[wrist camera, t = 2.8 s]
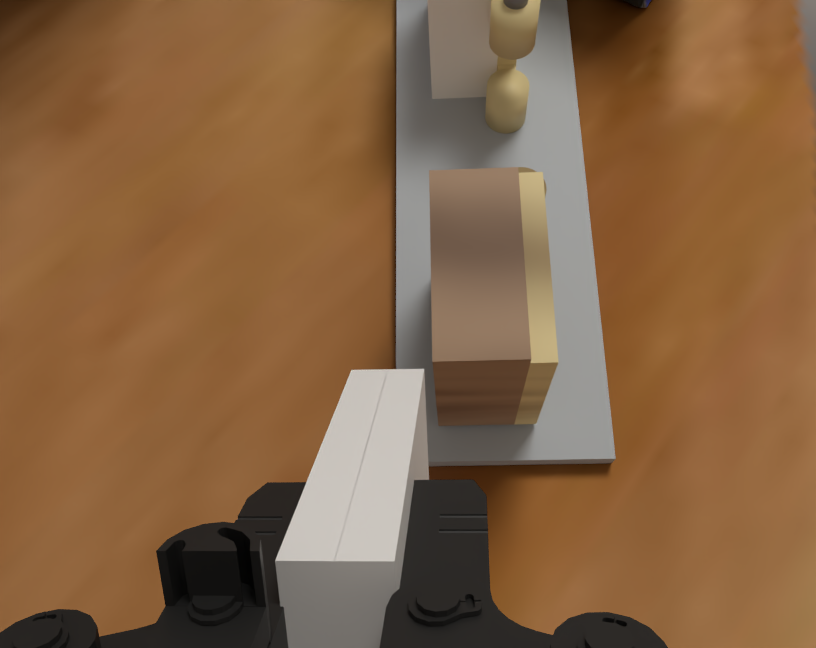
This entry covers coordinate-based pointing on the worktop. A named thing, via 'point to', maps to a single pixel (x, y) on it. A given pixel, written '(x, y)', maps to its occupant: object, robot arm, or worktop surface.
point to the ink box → (639, 3)
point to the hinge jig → (500, 148)
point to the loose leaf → (490, 296)
